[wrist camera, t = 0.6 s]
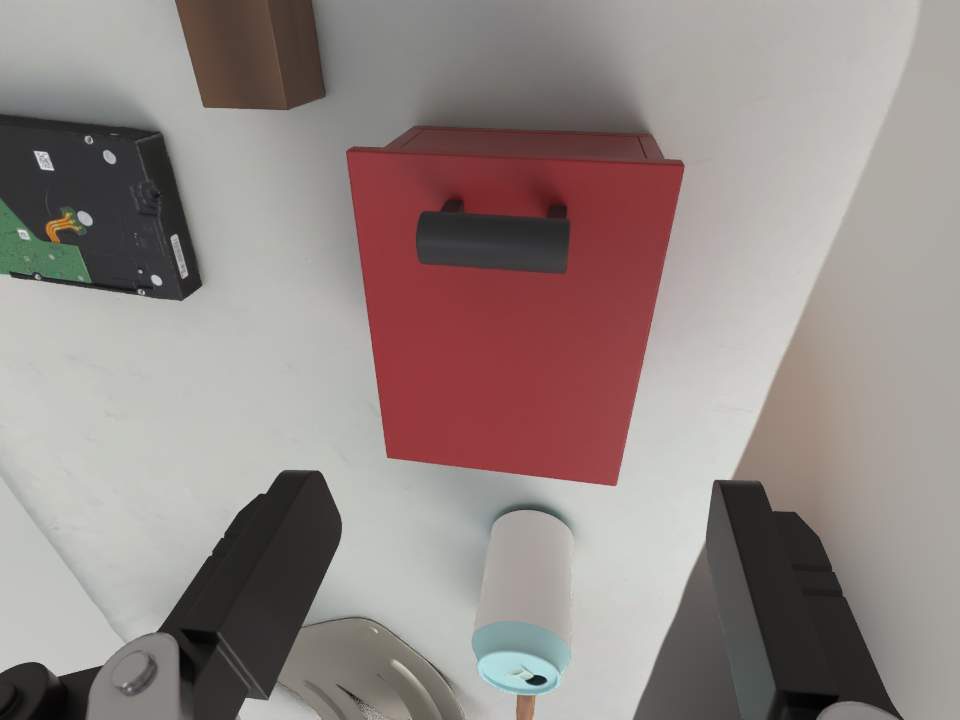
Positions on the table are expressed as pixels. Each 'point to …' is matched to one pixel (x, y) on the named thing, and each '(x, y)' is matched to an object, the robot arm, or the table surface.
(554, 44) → the table surface
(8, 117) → the disk drive
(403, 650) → the laptop stand
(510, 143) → the red box
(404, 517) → the table surface
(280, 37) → the block
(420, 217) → the box lid
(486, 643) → the can
